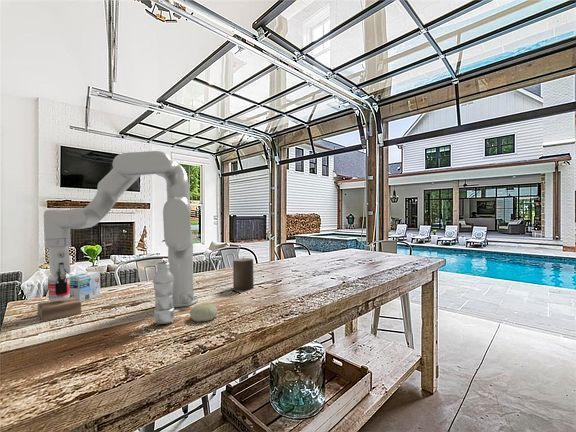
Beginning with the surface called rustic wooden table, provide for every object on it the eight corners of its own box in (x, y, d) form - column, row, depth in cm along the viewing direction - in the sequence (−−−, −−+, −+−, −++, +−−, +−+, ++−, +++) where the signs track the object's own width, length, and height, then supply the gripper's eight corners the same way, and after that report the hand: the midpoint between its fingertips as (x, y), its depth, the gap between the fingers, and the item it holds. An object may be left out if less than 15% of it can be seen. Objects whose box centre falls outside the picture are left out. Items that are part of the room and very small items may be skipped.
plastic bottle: (162, 328, 92) (160, 265, 92) (149, 323, 95) (148, 263, 95) (179, 321, 97) (178, 262, 97) (166, 317, 101) (165, 260, 101)
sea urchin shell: (224, 308, 104) (214, 297, 99) (215, 330, 99) (205, 319, 93) (202, 306, 107) (192, 295, 102) (193, 327, 102) (182, 316, 96)
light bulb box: (79, 302, 119) (79, 276, 119) (66, 302, 121) (65, 276, 120) (101, 295, 130) (100, 271, 130) (88, 294, 131) (88, 271, 131)
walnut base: (81, 313, 106) (80, 301, 106) (42, 321, 98) (41, 309, 98) (74, 306, 114) (74, 296, 114) (37, 314, 106) (37, 302, 106)
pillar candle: (252, 290, 134) (251, 258, 134) (231, 290, 135) (231, 258, 135) (254, 285, 144) (254, 255, 144) (235, 285, 144) (235, 255, 144)
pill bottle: (45, 302, 102) (44, 271, 102) (52, 297, 108) (51, 267, 108) (66, 300, 104) (65, 269, 104) (72, 295, 110) (71, 266, 110)
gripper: (75, 243, 103) (77, 294, 103) (65, 240, 114) (67, 286, 115) (48, 245, 97) (50, 299, 98) (41, 242, 109) (42, 290, 109)
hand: (59, 291), depth 106 cm, fingers closed on pill bottle, 6 cm apart
